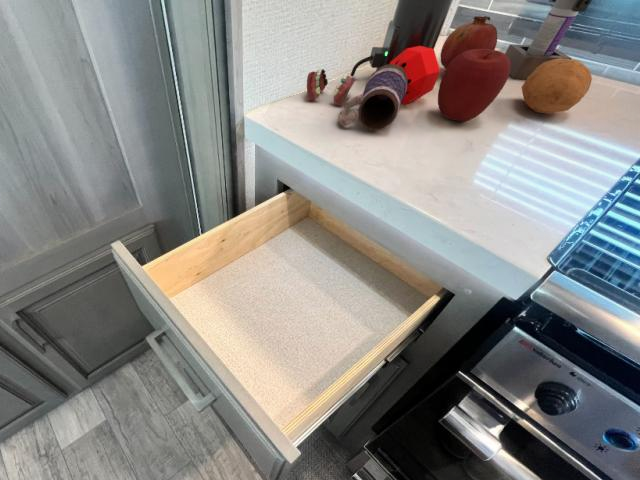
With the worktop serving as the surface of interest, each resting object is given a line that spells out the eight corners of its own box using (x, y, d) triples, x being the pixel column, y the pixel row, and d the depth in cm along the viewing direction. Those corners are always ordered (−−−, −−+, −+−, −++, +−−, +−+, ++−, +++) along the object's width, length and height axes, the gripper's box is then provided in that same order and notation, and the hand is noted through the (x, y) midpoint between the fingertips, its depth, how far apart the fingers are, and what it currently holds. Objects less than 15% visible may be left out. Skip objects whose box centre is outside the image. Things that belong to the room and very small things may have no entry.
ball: (374, 71, 62) (409, 41, 55) (400, 64, 65) (437, 35, 58) (387, 112, 63) (423, 88, 56) (412, 104, 66) (450, 80, 59)
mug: (408, 56, 55) (400, 83, 48) (408, 101, 59) (401, 130, 53) (347, 74, 60) (332, 100, 53) (351, 114, 65) (338, 142, 58)
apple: (416, 115, 59) (443, 48, 51) (445, 101, 62) (474, 37, 55) (465, 134, 54) (503, 63, 46) (493, 118, 58) (533, 50, 50)
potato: (568, 104, 62) (602, 58, 56) (570, 128, 56) (608, 78, 50) (514, 95, 65) (541, 49, 59) (510, 116, 59) (540, 68, 53)
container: (533, 69, 74) (589, -23, 62) (543, 76, 71) (603, -18, 59) (512, 68, 74) (563, -23, 62) (521, 75, 71) (576, -19, 59)
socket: (513, 78, 70) (526, 56, 67) (498, 65, 76) (509, 44, 72) (556, 80, 70) (571, 58, 66) (538, 66, 75) (551, 45, 72)
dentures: (353, 77, 57) (305, 71, 60) (346, 107, 61) (301, 100, 64) (360, 69, 61) (314, 64, 64) (353, 97, 65) (310, 91, 67)
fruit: (457, 86, 68) (485, 25, 60) (422, 71, 73) (444, 13, 65) (492, 77, 71) (524, 18, 63) (456, 64, 76) (481, 8, 68)
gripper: (597, -129, 55) (530, -2, 68) (651, -132, 47) (563, 14, 60) (644, -129, 55) (568, -1, 68) (708, -132, 46) (607, 15, 59)
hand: (566, 6), depth 64 cm, fingers open, 8 cm apart
